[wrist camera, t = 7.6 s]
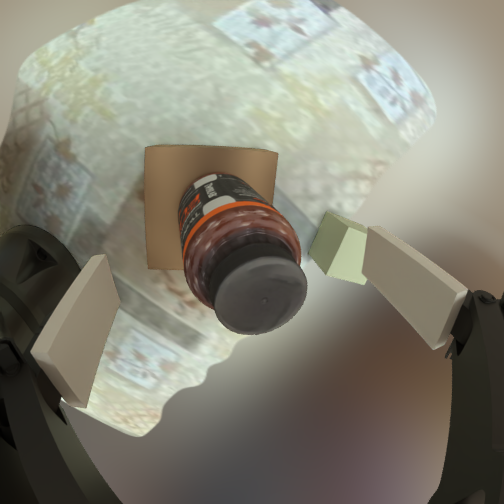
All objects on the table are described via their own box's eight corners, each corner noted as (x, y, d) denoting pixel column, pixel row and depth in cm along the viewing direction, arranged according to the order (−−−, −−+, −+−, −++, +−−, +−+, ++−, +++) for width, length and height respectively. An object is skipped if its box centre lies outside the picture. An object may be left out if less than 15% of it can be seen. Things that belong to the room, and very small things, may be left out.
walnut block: (156, 245, 26) (148, 269, 22) (156, 144, 22) (145, 147, 18) (254, 247, 28) (264, 270, 24) (264, 149, 24) (278, 153, 20)
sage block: (307, 252, 29) (326, 275, 25) (326, 210, 27) (348, 227, 23) (343, 263, 31) (364, 284, 26) (361, 224, 29) (386, 241, 24)
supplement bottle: (177, 170, 18) (188, 231, 8) (257, 171, 20) (345, 229, 10) (177, 246, 21) (192, 358, 11) (250, 243, 22) (312, 340, 13)
